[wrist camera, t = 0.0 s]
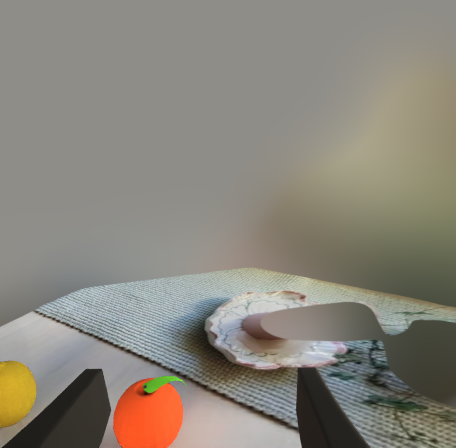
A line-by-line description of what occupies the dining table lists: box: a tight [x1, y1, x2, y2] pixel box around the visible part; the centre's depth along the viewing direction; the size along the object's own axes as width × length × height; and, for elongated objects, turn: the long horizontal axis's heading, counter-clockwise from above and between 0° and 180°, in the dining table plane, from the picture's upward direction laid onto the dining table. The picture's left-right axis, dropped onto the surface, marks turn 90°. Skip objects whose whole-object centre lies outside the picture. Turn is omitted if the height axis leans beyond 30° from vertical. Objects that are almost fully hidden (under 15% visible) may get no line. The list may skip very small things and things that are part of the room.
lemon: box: [0, 361, 36, 427], centre depth 36 cm, size 6×6×8 cm
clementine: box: [113, 376, 186, 448], centre depth 33 cm, size 8×7×7 cm
